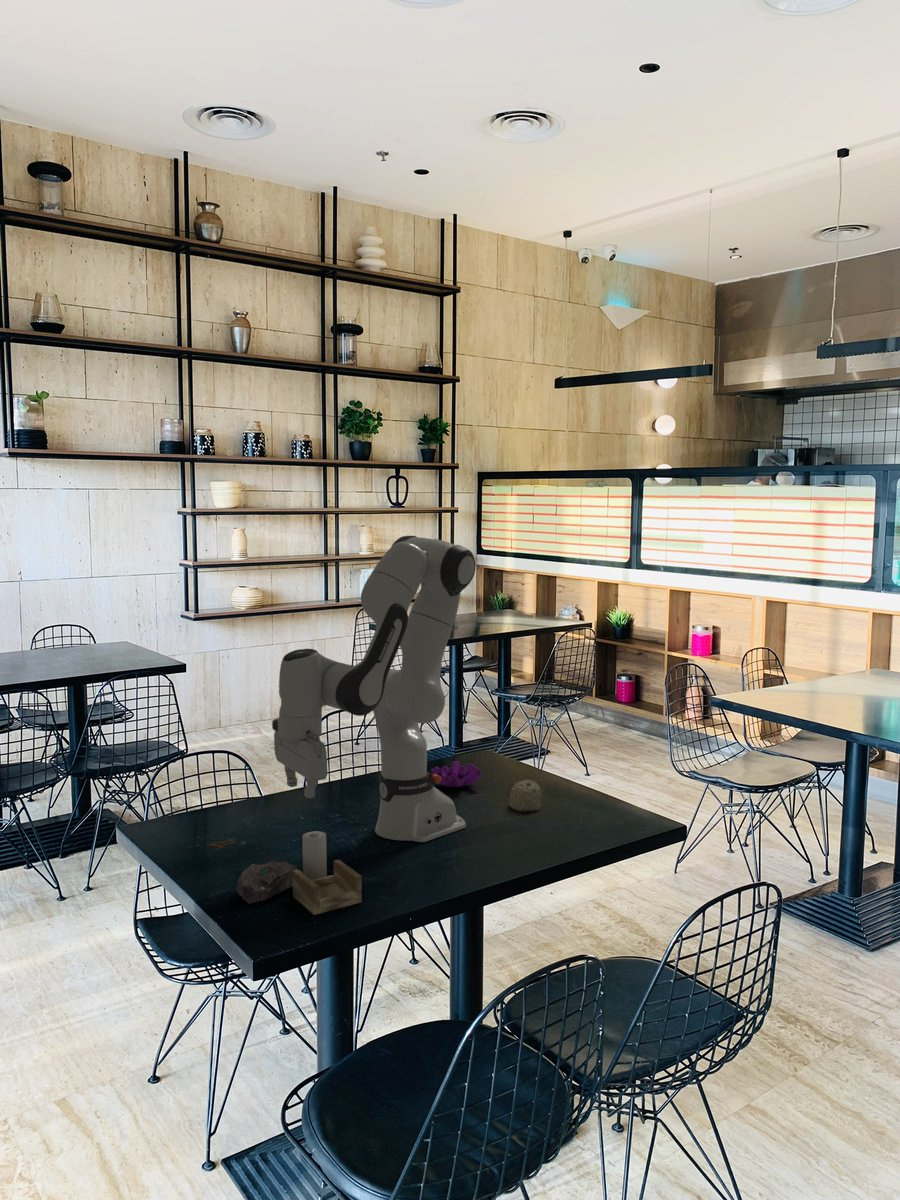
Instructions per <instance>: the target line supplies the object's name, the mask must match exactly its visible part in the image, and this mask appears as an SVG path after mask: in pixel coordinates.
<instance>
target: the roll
mask: <svg viewBox="0 0 900 1200" xmlns="http://www.w3.org/2000/svg"><path fill="white" fill-rule="evenodd" d="M327 859H328V858H327V834H326V833H325V832H323V831H318V830H314V831H309V832H305V833H303V834H302V873H303V874H304V875H306V876H307V877H308V878H310V879H311V880H314V879H319V878H323V877H327V876H328V875H327V874H328V868H327V866H328V865H327V864H328V863H327Z"/></svg>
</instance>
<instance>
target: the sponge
mask: <svg viewBox="0 0 900 1200" xmlns="http://www.w3.org/2000/svg"><path fill="white" fill-rule="evenodd" d="M508 806H509V807H510V808H511V809H513V810H515V811H519V812H535V811H539V810H541V808H542V791H541V787H540V786H539V784H538V783H537V782H535V780H531V779H524V780H520V781H518V782H516V783H515V784H514V785H513V786H512V788H511V791H510V794H509V801H508Z"/></svg>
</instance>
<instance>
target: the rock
mask: <svg viewBox="0 0 900 1200" xmlns="http://www.w3.org/2000/svg"><path fill="white" fill-rule="evenodd" d="M297 869H298V866H297V865H296V864H290V863H289V862H285V861H279V862H277V860H272V861H270V862H267V863H265V864H263V863H262V864H256V863H252V864H251V865H250V866H249V867H247V868H246V869H244V870H243V872H241V875H240V876H239V877H238V881H237V886H236V889H235V890H236V893H237V894H238V895H239V896H240V897H241V898H242V899H243V900H244V901H246V903H247V904H248V905H250V904H254V903H257V902H262V901H264V902H265V901H267V900H269V899H270V898H272V897H273V896H274V895H278V894H280V893H283V892H284V891H285V890H288V889H290V888H293V873H292V871H293V870H297Z"/></svg>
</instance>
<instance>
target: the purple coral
mask: <svg viewBox="0 0 900 1200" xmlns="http://www.w3.org/2000/svg"><path fill="white" fill-rule="evenodd" d="M430 772H431V774H432V775H433V774H437V775H439V776H440V777H441V781H439V782H440V783H439V785H442V786H444V787H449V788H460V787H467V786H470V785H473V784H475V783H476V782H477V781H478V780H479V779H480V778H481V777H482V772H481V771H480V770H479V767H477V766H475V765H474V764H472V763H467V764H466V766H464V765H460V762H459V761H457V760H455V761H454V760H453V761H451V764H450V767H449V768H448V766H447V765H445V766H443V767H441V768H439V767H438V766H433V767H432V768H431V769H430Z"/></svg>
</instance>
